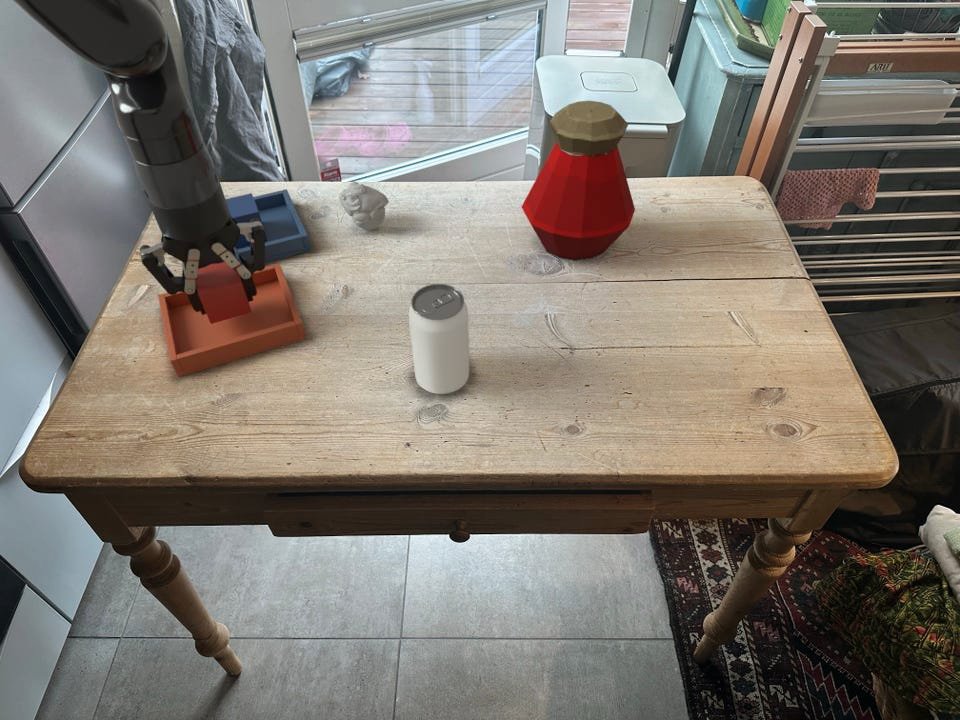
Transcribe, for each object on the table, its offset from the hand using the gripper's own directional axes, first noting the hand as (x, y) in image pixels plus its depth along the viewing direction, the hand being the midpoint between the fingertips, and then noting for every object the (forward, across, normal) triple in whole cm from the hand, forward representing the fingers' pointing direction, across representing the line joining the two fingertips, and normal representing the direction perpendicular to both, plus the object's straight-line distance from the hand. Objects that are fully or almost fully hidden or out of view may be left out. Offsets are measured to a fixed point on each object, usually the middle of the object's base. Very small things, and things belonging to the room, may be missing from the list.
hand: (226, 303), depth 84 cm
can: (+4, -21, +19) cm, 29 cm away
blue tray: (+4, -5, -17) cm, 18 cm away
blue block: (+3, -5, -17) cm, 18 cm away
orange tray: (+3, 0, 0) cm, 3 cm away
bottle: (+4, -48, +3) cm, 48 cm away
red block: (0, 0, 0) cm, 0 cm away
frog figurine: (+4, -22, -13) cm, 26 cm away
